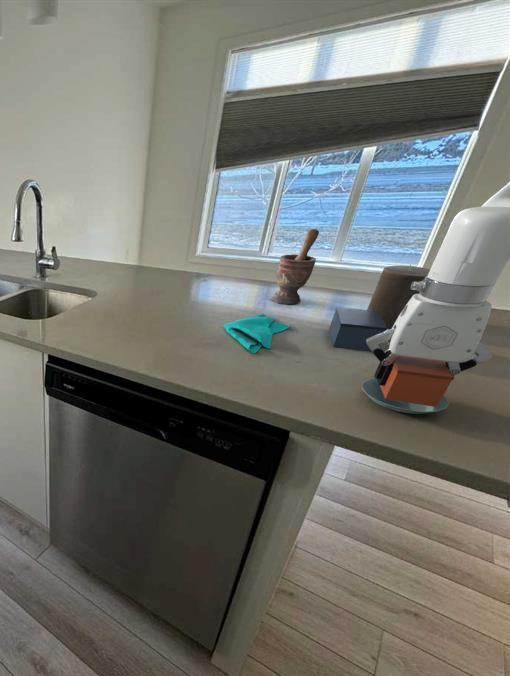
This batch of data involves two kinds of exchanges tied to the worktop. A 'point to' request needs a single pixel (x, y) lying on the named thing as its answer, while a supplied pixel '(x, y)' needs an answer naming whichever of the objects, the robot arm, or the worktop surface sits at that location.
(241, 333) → the cloth
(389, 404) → the saucer
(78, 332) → the worktop surface
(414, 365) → the container
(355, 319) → the bottom container
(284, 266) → the mortar and pestle
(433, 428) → the worktop surface
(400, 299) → the pillar candle
